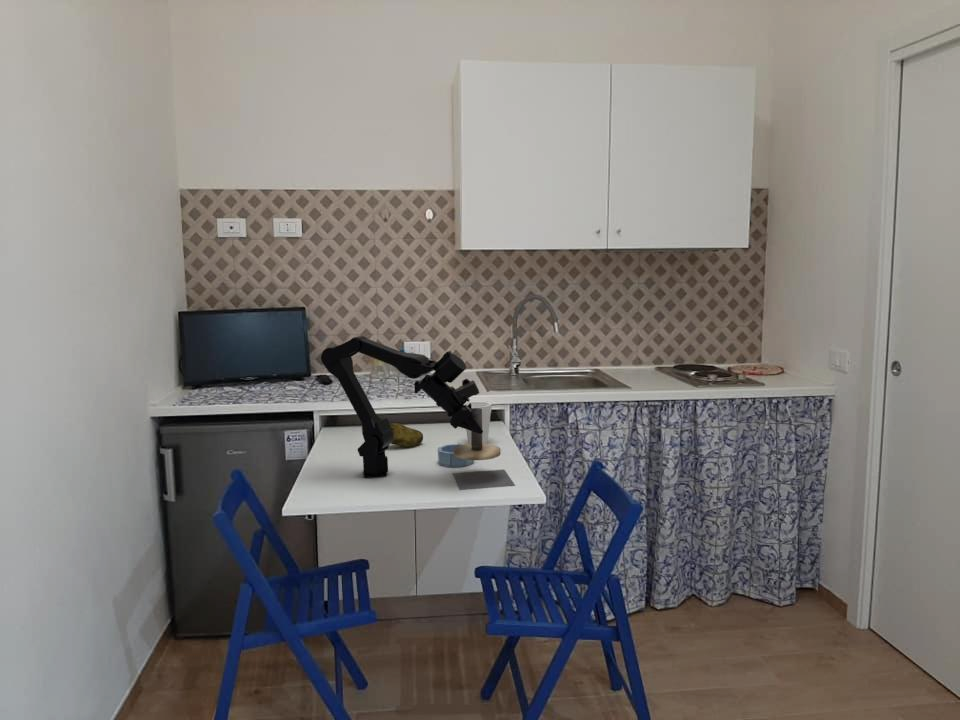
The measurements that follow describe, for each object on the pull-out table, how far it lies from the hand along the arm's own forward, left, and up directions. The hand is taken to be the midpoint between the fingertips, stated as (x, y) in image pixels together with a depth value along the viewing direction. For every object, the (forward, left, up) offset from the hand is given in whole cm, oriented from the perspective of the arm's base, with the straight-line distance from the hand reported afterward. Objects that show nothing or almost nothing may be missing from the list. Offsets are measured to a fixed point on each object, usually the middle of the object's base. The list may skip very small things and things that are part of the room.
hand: (481, 431), depth 202 cm
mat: (0, -3, -13) cm, 13 cm away
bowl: (-5, +15, -13) cm, 21 cm away
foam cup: (+5, +36, -13) cm, 39 cm away
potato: (-19, +39, -13) cm, 45 cm away
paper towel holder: (-1, 0, -6) cm, 6 cm away
